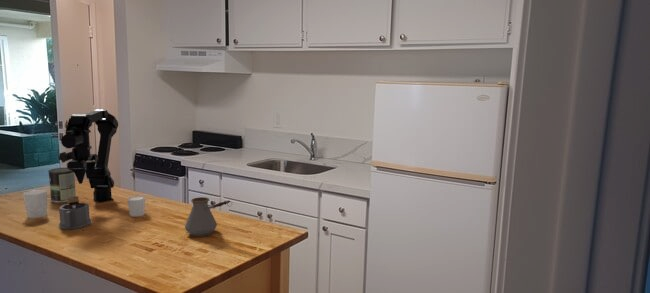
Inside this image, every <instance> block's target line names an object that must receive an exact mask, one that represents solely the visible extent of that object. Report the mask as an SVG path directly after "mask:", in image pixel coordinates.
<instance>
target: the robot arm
mask: <svg viewBox="0 0 650 293" xmlns="http://www.w3.org/2000/svg"><path fill="white" fill-rule="evenodd" d="M93 123H95V125H96V126H97V127H96V128H97V132H98V133H99V135H100V137H99V142H98V148H97V154H96V153H91V150H92V147H93V146H92V145H90V144H91V143H90V133H91V129H90V128H91V127H92V126H93ZM118 127H119V121H118V120H117V118H116V116H114V115H113V114H111V113H109V111H108V110H106V109H98V108H97V109H94V110H93V111H89V112H87V113H84V114H71V115H70V117H69V119H68V122H67V126H66V127H65V134H64V135H63V136H62V137H61V139H60V142H61V146H63V147H64V148H66V149H71V151H68V152H66V151H63V152H60V153H59V155H58V161H61V163H62V164H63V163H66V162H67V163H66V168H67V169H69V170H71V171H73V172H74V176H75V177H76V179H77V181H78V184H80V185H82V184H83V182H84V179H85V176H86V179H87V180H88V183H89V186H90V189H93V200H92V201H95V202H97V203H105V202H110V201H114V198H112V189H113V188H114V187H115V180H114V179H113V178H112V177H111V175H112V174H111V171H110V169H109V159H110V152H111V146H112V145H111V144H112V139H113V137H114V136H115V135H116V134H117V130H118Z"/></svg>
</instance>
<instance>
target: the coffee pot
mask: <svg viewBox="0 0 650 293" xmlns="http://www.w3.org/2000/svg"><path fill="white" fill-rule="evenodd" d="M190 201H191V203H192V208H191V211H190V212H189V215H188V217H187V220H186V222H185V224H184V229H185V230H186V232H188V234H190V235H191V236H193V237H206V236H209V235H211V234H212V233H213V232H214V231H215V230H216V228H217V225H218V223H217V221H216V219H215V217H214V215H213V213H212V210H211V209H213V208H214V209H215V208H218V207H222V206H225V205H227V206H229V203H231V205H230V207H231V206H233V202H232V201H231V200H224V201H223V202H222V201H221V202H219V203H215V204H213V205H208V204H209V201H210V198H209V197H201V196H200V197H194V198H192V199H191V200H190Z"/></svg>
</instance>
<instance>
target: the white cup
mask: <svg viewBox="0 0 650 293" xmlns="http://www.w3.org/2000/svg"><path fill="white" fill-rule="evenodd" d="M23 199H24V205H25V210H26V216H27V218H28V219H38V218H40V219H41V218H44V217H45V216H47V215H48V191H47V190H45V189H33V190H29V191H24V192H23Z"/></svg>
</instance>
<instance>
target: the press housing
mask: <svg viewBox="0 0 650 293" xmlns="http://www.w3.org/2000/svg"><path fill="white" fill-rule="evenodd" d="M75 205H76V209H73V205H69V203H67V204H63V205H61V206H60V207H59V209H58V210H59V223H58V228H59V229H61V230H65V231H66V230H68V231H69V230H70V231H71V230H80V229H83V228H86V226H87V227H89V226H91V224H92V219H91V216H90V204H89V203H86V202H79V203H78V204H75Z"/></svg>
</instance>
